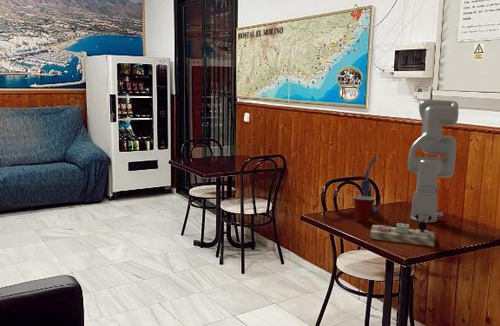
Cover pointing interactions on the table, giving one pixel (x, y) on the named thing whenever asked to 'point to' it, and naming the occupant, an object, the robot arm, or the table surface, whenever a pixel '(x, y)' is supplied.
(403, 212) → the table surface
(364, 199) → the plastic cup
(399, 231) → the tile two
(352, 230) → the table surface
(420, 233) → the tile one
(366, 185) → the hand press
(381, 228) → the tile three
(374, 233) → the board
